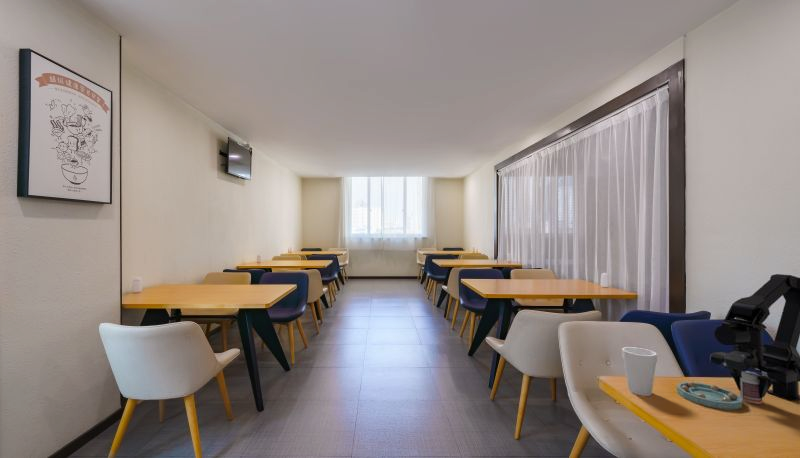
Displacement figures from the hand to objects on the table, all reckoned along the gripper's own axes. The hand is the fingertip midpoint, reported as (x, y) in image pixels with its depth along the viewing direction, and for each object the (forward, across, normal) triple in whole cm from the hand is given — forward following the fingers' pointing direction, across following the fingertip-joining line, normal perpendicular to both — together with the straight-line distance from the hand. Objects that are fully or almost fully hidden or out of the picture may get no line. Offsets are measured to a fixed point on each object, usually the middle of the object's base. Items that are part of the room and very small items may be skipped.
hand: (751, 394), depth 107 cm
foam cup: (+2, -15, -27) cm, 31 cm away
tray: (+2, -5, -11) cm, 12 cm away
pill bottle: (+2, 0, 0) cm, 2 cm away
